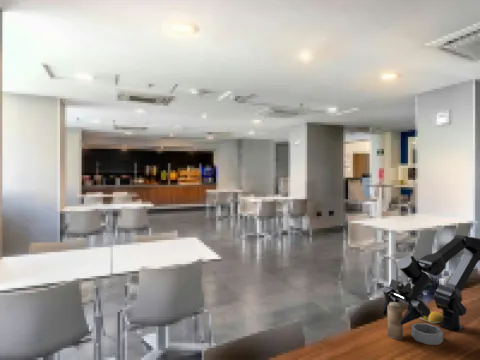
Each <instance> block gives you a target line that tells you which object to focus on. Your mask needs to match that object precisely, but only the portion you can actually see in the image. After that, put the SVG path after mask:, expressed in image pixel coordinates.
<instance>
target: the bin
mask: <svg viewBox="0 0 480 360" xmlns="http://www.w3.org/2000/svg"><path fill="white" fill-rule="evenodd" d="M410 329H411V331H410V332H411V334H410V335H411V337H412V338H413V339H414V340H415V341H416V342H419V343H421V344H425V345H432V346H433V345H434V346H435V345H436V346H439V345H440V344H442V343H443V342H444V331H443V330H442V329H440V328H439V326H436V325H432V324H431V323H430V324H429V323H424V322H423V323H420V322H419V323H418V322H416V323H414V324H413V325H410Z"/></svg>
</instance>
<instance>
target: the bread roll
mask: <svg viewBox="0 0 480 360" xmlns="http://www.w3.org/2000/svg"><path fill="white" fill-rule="evenodd" d="M419 319H420V320H422V321H423V322H427V323H428V322H429V323H430V324H435V325H437V324H439V325H440V324H442V323H443V313H441V312H438V311H432V310H431V309H430V314H429V316H428V317H426V316H424V317H423V318H422V317H420V318H419Z"/></svg>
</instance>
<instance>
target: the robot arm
mask: <svg viewBox="0 0 480 360" xmlns="http://www.w3.org/2000/svg"><path fill="white" fill-rule="evenodd" d="M461 251H463V252H464V254H463V256H462V258H461V260H460V262H459V263H458V265H457V266H456V268H455V270H454V272H453V273H452V275H451V277H450V278H449V280H448V282H447V283H446V284H441V283H440V284H438V286H437V289H436V290H434V295H433V300H434V303H435V305H436V308H437V309H439V310H442V311H441V312H442V315H443V323H439V325H438V327H440V328H443V329H447V330H449V331H453V332H456V333H457V332H460V331H462V329H464V325H461V317H463V316H465V315H466V314H467V308H466V307H465V306H464V304H463V303H462V301H463V296H462V295H463V294H462V291H463V289H464V287H465V285H466V284H467V282H468V281H469V278H470V276H471V275H472V273H473V271H474V269H475V267H476V266H477V264H478V263H479V261H480V237H473V236H468V235H464V234H456V235H455V236H453V238H452V239H451V240H450V241H448V242H447V243H446V244H445V245H443V246H442V247H441V248H439V249H438V250H437V251H436V252H434V253H430V254H426V255H425V256H422V257H421V258H420V259H418V260H416V258H415V257H414V256H413V255H411V254H408V255H407V256H404V257H401V258H400V259H399V260H398V261H397V262H396V266H397V268H398V269H399V270H400V271H401V272H402V273H403V274H404V276H406V277H407V278H408V279H409V280H408V281H403V282H401V281H398V280H395V279H393V278H392V279H391V280H390V282H389V283H390V284H389V286H384V288H383V289H382V291H381V292H383V296H384V298H385V299H384V300H385V301H384V305H383V310H382V314H383V316H385V315H388V313H387V305H388V304H389V303H390V302H397V303H400V302H402V303H404V304H406V305H407V311H406V312H405V313H404V315H402V316H403V318H402V319H401V321H400V324H401V325H403V326H404V325H405V324H407V323H409V322H412V321H414V320H417V319H420V317H422V318H423V317H424V316H426V317H428V316H429V314H430V310H431V309H430V307H429V306H428V305H426V304H425V302H424V301H423V300H420V299H419V297H421V298H423V297H424V296H425V294H424V293H423V292H424V291H425V289H426V288H427V287H428V285H432V286H434V285H435V281H434V277H432V275H433V276H436V277H437V276H439V275H440V274H441V273H442V272H443V271H444V270H445V269H446V264H447V263H448V262H449V261H450V260H451V259H453V258H454V257H456V256H457V255H458V254H459V253H460V252H461ZM429 275H431V276H429Z"/></svg>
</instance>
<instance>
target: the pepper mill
mask: <svg viewBox="0 0 480 360" xmlns="http://www.w3.org/2000/svg"><path fill="white" fill-rule="evenodd" d="M403 316H404V315H403V306H401V304H400V302H390V303H389V304H388V305H387V336H388V338H390V339H393V340H397V341H398V340H401V341H402V340H403V339H404V327H403V326H404V324H403V325H401V324H400V321H401V319H402V318H403Z"/></svg>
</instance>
